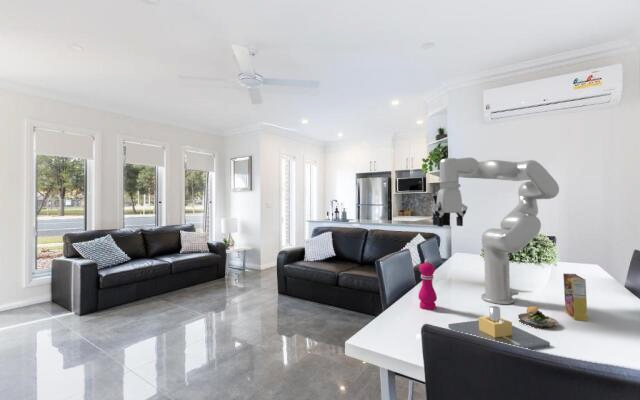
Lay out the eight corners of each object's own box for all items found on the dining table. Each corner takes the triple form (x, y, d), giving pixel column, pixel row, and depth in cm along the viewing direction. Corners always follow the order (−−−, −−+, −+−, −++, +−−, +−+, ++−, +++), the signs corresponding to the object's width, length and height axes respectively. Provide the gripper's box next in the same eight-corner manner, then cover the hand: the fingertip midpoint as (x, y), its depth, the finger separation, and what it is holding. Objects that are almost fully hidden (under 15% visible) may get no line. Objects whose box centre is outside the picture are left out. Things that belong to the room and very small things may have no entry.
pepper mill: (438, 310, 122) (437, 261, 122) (419, 309, 123) (418, 260, 124) (435, 305, 129) (434, 258, 129) (417, 304, 130) (416, 257, 131)
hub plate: (496, 321, 110) (495, 296, 110) (549, 346, 91) (549, 315, 91) (448, 327, 105) (447, 301, 106) (494, 355, 86) (493, 322, 86)
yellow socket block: (495, 327, 102) (495, 313, 102) (512, 335, 96) (511, 320, 96) (479, 329, 101) (478, 315, 101) (494, 337, 94) (494, 322, 94)
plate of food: (545, 333, 101) (544, 310, 101) (510, 320, 111) (510, 300, 112) (566, 326, 105) (565, 305, 106) (531, 315, 116) (530, 296, 116)
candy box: (563, 311, 119) (562, 272, 119) (577, 313, 117) (576, 273, 118) (573, 320, 111) (571, 278, 111) (587, 321, 109) (586, 279, 109)
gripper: (460, 187, 138) (461, 225, 137) (426, 187, 133) (427, 226, 133) (472, 186, 130) (473, 226, 130) (437, 186, 126) (437, 227, 126)
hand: (450, 226), depth 132 cm, fingers open, 9 cm apart
